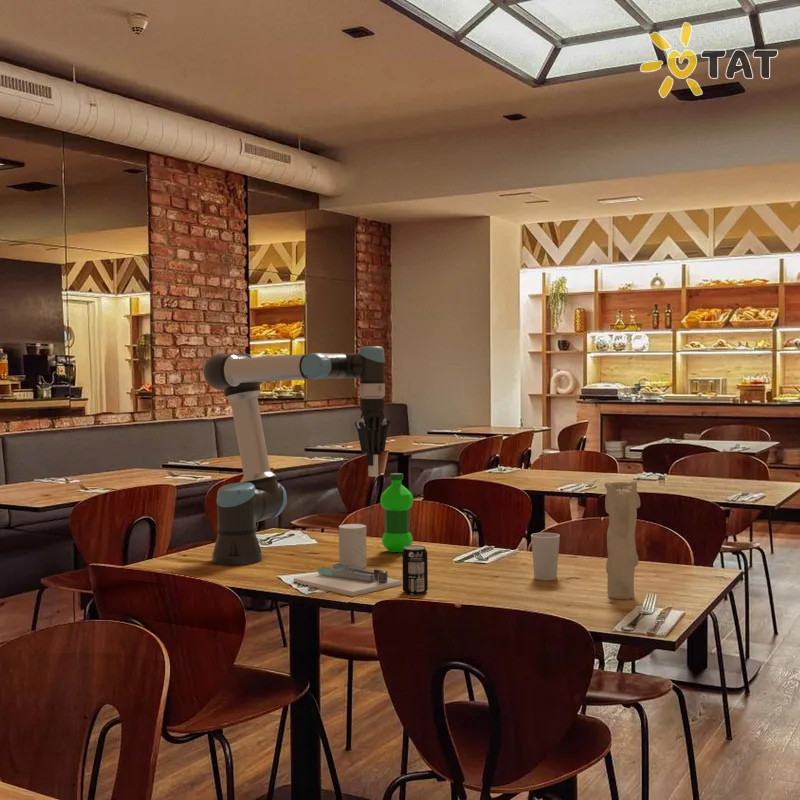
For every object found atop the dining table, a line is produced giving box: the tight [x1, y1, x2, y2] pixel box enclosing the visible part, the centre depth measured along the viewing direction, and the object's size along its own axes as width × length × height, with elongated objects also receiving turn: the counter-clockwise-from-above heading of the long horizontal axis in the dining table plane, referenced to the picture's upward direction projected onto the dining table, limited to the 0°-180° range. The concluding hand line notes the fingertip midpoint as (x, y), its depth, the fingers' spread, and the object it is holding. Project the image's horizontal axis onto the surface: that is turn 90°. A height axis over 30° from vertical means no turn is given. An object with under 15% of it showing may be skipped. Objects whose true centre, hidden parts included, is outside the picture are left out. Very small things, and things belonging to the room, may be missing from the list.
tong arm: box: [317, 567, 375, 582], centre depth 270 cm, size 18×2×2 cm, turn 55°
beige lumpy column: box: [604, 479, 641, 600], centre depth 249 cm, size 9×8×30 cm
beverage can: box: [401, 544, 429, 596], centre depth 258 cm, size 7×7×12 cm
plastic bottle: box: [379, 472, 414, 553], centre depth 314 cm, size 10×10×25 cm
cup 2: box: [530, 532, 561, 581], centre depth 274 cm, size 8×8×12 cm
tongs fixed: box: [332, 563, 389, 583], centre depth 272 cm, size 22×4×4 cm, turn 46°
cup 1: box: [338, 523, 368, 569], centre depth 292 cm, size 8×8×12 cm
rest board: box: [293, 572, 402, 597], centre depth 269 cm, size 24×18×1 cm
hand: (373, 476), depth 295 cm, fingers closed
